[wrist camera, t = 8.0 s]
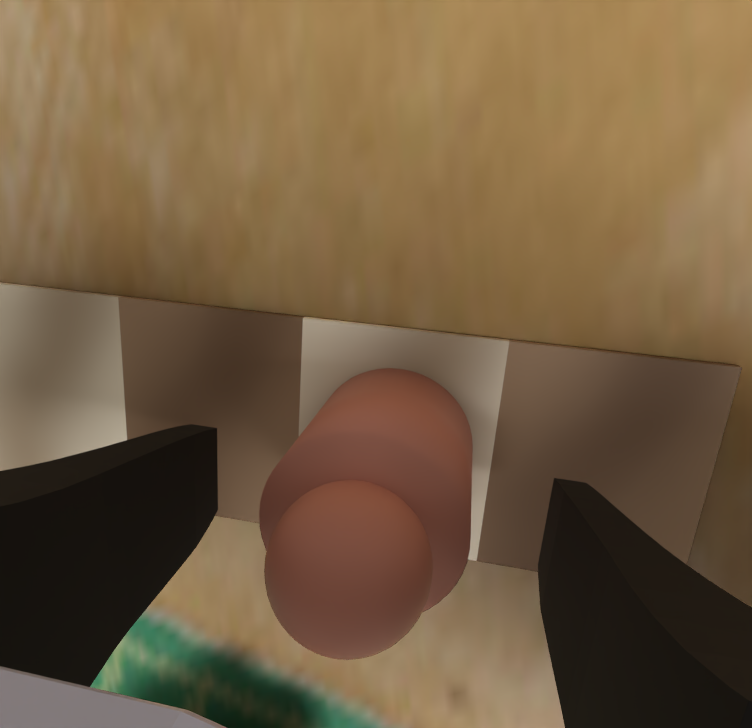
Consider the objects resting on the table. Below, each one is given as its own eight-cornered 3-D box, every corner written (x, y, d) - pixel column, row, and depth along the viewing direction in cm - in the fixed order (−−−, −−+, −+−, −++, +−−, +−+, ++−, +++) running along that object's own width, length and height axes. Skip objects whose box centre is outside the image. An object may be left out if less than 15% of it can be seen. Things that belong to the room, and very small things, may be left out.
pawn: (482, 379, 13) (486, 527, 7) (462, 524, 14) (451, 760, 8) (320, 358, 14) (195, 480, 8) (314, 500, 15) (200, 703, 9)
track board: (737, 365, 12) (742, 367, 12) (675, 590, 14) (678, 596, 14) (-41, 277, 15) (-48, 278, 15) (-14, 471, 17) (-19, 474, 17)
